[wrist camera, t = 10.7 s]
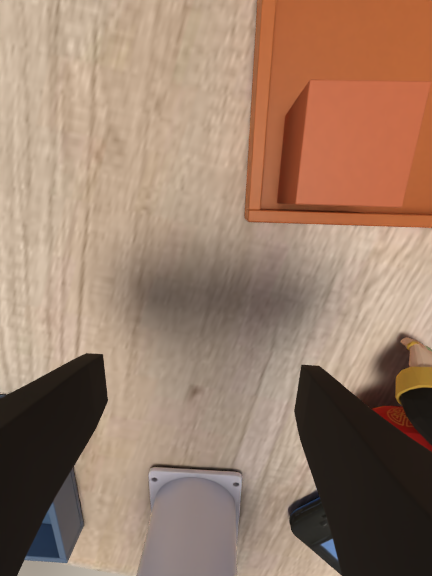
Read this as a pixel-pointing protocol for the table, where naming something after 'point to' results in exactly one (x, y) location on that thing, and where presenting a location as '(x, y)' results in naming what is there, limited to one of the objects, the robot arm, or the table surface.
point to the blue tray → (59, 526)
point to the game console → (315, 531)
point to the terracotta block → (351, 142)
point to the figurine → (413, 396)
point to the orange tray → (335, 66)
